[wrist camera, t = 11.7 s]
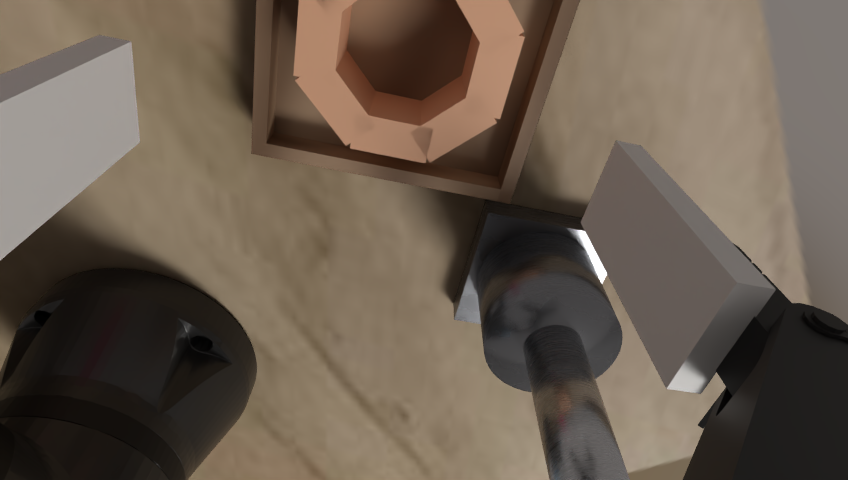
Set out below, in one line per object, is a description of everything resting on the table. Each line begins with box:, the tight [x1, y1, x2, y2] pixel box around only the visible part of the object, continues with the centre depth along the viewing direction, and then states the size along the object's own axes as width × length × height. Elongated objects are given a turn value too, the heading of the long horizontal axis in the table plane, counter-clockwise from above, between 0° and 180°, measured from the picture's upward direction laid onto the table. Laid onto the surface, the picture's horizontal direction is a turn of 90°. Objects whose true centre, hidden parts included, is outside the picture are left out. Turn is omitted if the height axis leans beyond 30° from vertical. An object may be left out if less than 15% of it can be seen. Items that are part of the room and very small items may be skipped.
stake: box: [453, 200, 630, 480], centre depth 26 cm, size 8×8×16 cm
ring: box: [293, 0, 525, 163], centre depth 23 cm, size 9×9×4 cm
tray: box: [251, 0, 580, 204], centre depth 24 cm, size 13×13×2 cm
